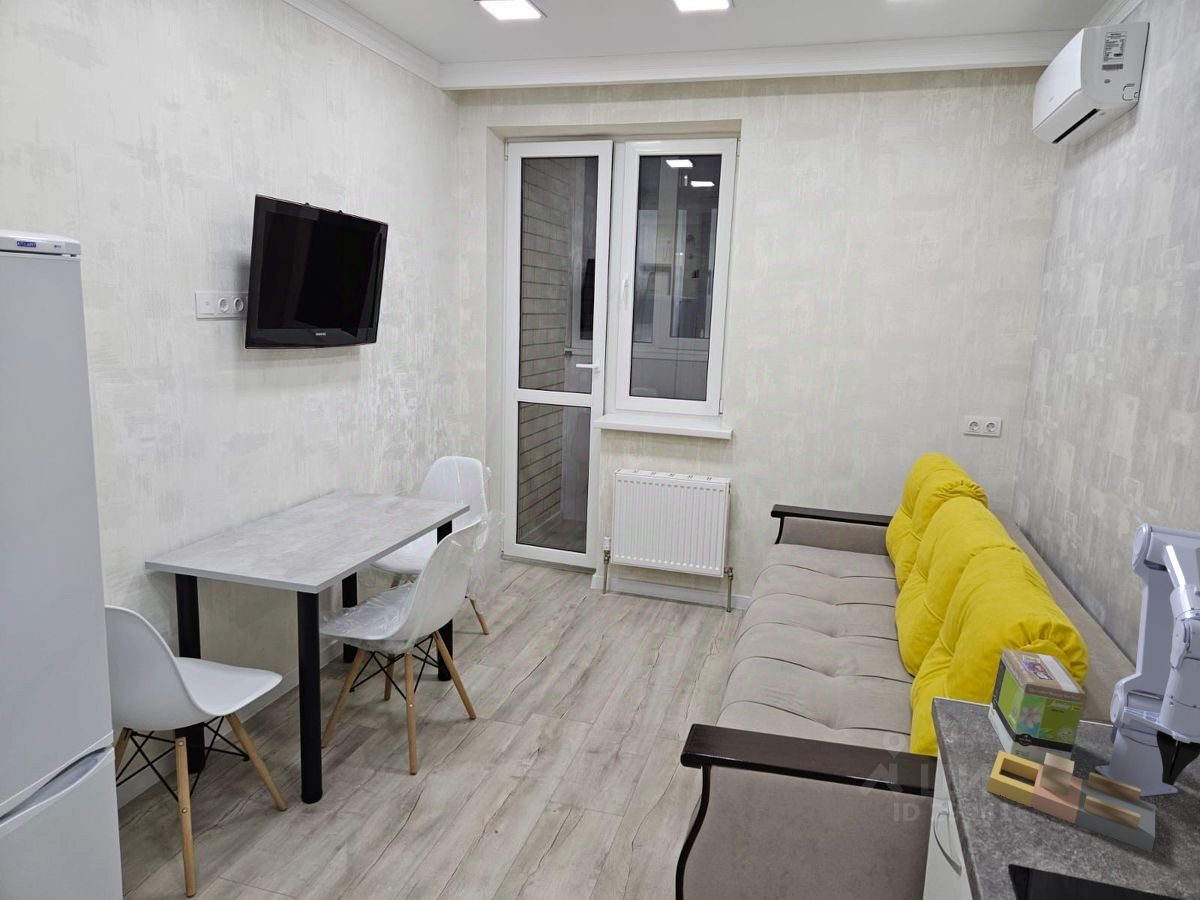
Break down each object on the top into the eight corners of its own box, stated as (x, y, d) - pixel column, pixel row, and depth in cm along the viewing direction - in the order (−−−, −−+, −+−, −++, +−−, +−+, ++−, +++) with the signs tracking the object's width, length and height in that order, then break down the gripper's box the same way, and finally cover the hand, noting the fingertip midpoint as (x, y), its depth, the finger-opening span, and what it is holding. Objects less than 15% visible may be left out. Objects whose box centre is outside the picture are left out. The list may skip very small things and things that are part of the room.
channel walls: (1138, 800, 129) (1141, 789, 129) (1137, 829, 122) (1140, 817, 121) (1087, 782, 133) (1090, 771, 132) (1083, 809, 125) (1086, 798, 125)
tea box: (1070, 771, 140) (1088, 693, 137) (1008, 760, 142) (1024, 683, 139) (1042, 726, 154) (1058, 654, 151) (986, 716, 156) (1000, 645, 153)
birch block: (1069, 783, 132) (1074, 761, 131) (1067, 795, 129) (1072, 773, 128) (1041, 774, 134) (1046, 752, 133) (1039, 785, 131) (1044, 763, 130)
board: (1151, 818, 129) (1155, 804, 128) (1151, 852, 120) (1155, 837, 120) (996, 763, 141) (999, 750, 140) (987, 790, 132) (989, 777, 132)
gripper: (1129, 692, 120) (1110, 774, 123) (1253, 728, 112) (1229, 814, 115) (1131, 675, 126) (1112, 753, 129) (1248, 708, 118) (1225, 791, 121)
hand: (1167, 781), depth 122 cm, fingers closed
